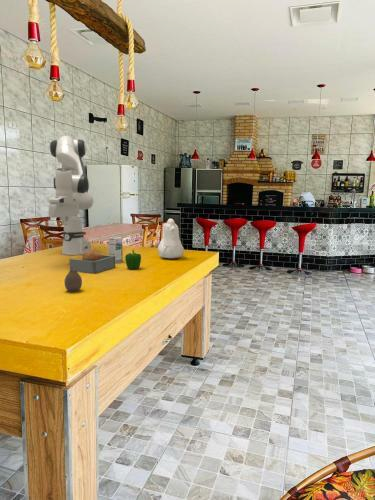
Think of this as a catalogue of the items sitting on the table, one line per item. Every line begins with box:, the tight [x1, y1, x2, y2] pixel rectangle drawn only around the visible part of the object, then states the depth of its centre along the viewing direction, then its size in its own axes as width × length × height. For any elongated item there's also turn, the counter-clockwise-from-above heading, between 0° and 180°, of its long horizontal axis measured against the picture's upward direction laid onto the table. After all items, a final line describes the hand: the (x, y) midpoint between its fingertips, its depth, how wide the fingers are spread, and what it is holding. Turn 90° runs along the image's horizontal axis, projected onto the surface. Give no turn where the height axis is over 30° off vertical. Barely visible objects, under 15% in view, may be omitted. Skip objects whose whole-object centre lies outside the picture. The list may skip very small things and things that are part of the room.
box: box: [69, 254, 116, 275], centre depth 202 cm, size 18×15×6 cm
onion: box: [81, 249, 101, 261], centre depth 202 cm, size 10×10×10 cm
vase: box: [64, 269, 83, 293], centre depth 158 cm, size 7×7×9 cm
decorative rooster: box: [157, 218, 185, 259], centre depth 241 cm, size 25×16×25 cm, turn 5°
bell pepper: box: [124, 249, 142, 270], centre depth 205 cm, size 8×8×10 cm
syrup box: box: [107, 236, 124, 264], centre depth 222 cm, size 6×6×14 cm
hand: (65, 224), depth 208 cm, fingers closed
